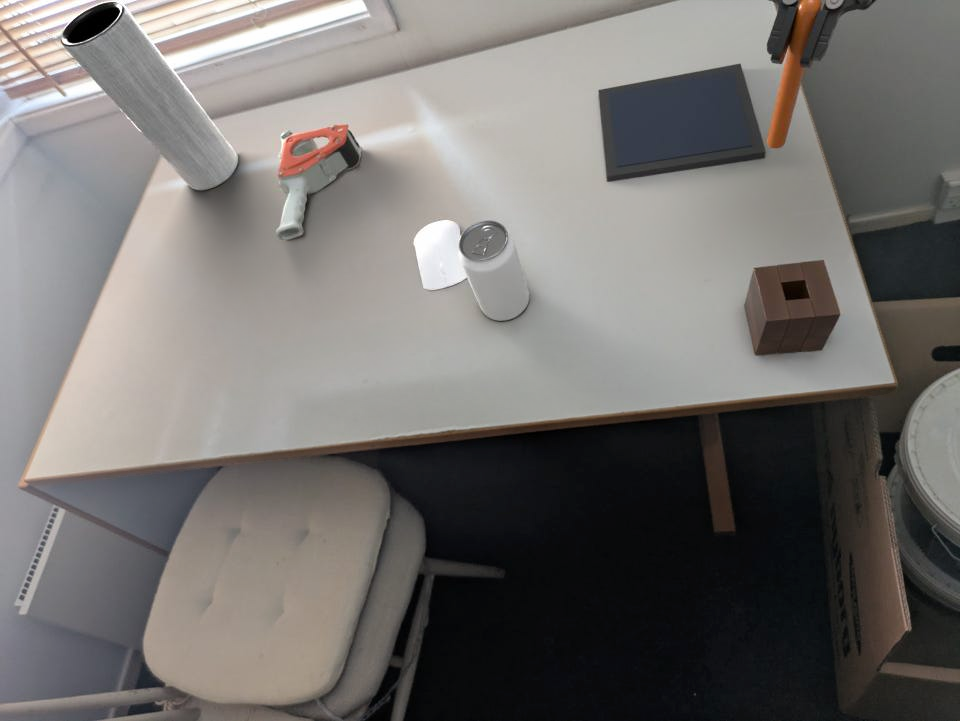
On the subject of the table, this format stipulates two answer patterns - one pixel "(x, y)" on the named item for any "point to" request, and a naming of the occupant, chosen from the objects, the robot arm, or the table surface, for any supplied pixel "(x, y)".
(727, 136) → the tablet
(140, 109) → the vase
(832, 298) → the pen holder
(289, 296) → the table surface
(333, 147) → the tape dispenser
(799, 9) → the stylus
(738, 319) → the table surface
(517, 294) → the can
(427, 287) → the computer mouse
